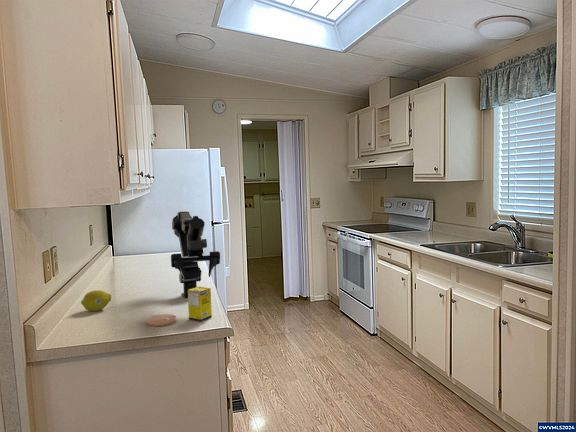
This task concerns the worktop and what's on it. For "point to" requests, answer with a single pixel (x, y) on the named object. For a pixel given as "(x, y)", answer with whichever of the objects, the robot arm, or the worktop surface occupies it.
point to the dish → (161, 320)
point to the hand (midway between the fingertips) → (197, 277)
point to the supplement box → (199, 303)
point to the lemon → (96, 300)
